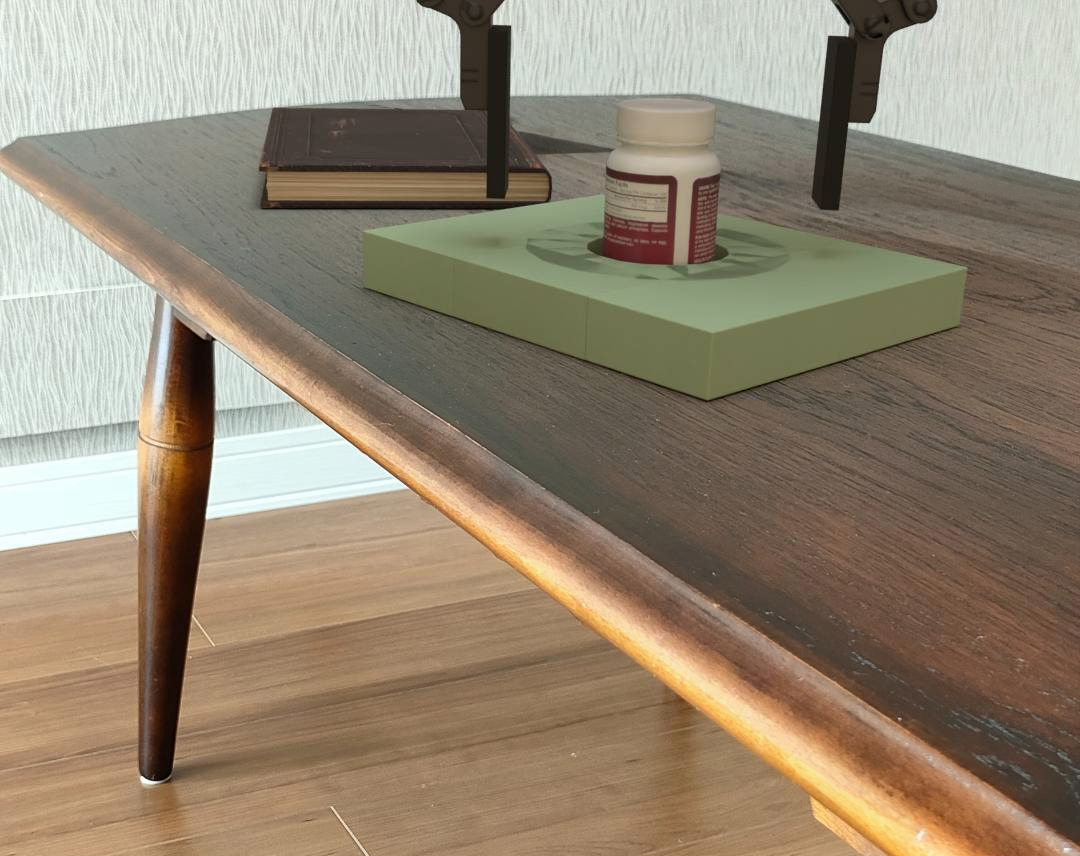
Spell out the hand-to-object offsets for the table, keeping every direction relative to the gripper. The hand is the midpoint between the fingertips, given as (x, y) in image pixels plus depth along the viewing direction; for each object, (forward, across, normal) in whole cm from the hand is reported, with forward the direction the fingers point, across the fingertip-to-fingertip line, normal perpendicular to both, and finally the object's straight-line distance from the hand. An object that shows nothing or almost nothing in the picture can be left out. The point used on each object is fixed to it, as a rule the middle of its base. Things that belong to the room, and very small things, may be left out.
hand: (660, 199), depth 60 cm
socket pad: (+4, 0, 0) cm, 4 cm away
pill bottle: (+5, 0, 0) cm, 5 cm away
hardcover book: (+5, -15, +30) cm, 34 cm away
